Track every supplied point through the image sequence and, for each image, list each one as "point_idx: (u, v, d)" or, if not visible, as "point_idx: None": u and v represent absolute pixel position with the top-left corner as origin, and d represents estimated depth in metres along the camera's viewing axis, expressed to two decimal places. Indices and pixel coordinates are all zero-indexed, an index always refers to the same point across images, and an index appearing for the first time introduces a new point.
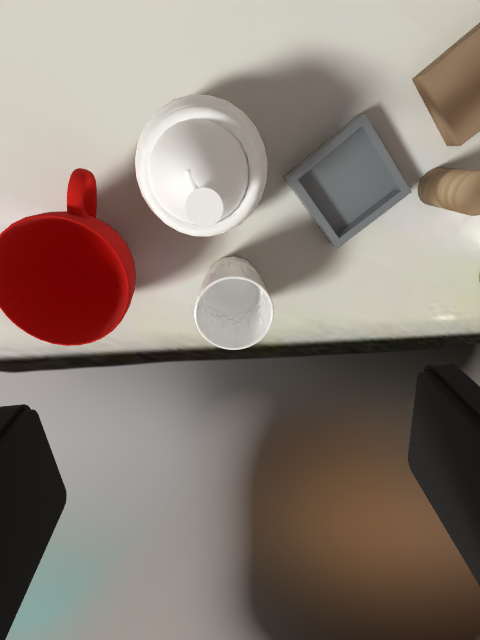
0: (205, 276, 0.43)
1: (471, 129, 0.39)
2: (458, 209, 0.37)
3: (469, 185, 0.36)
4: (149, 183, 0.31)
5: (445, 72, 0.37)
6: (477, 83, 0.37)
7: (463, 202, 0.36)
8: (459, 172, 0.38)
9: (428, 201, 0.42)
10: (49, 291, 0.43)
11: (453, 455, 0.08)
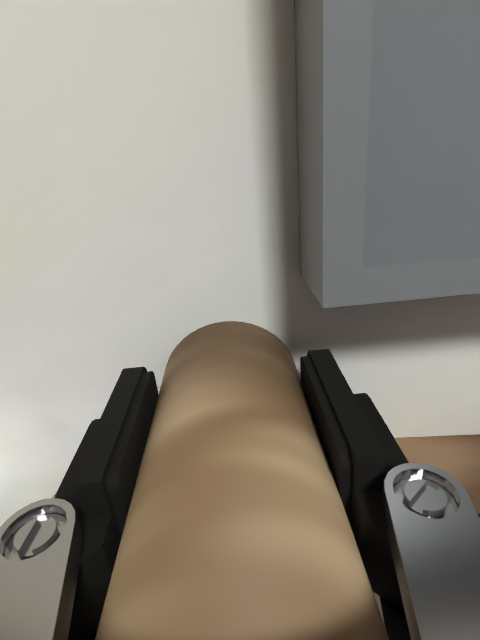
0: None
1: None
2: (198, 621, 0.04)
3: None
4: None
5: None
6: None
7: None
8: None
9: (217, 353, 0.09)
10: None
11: None
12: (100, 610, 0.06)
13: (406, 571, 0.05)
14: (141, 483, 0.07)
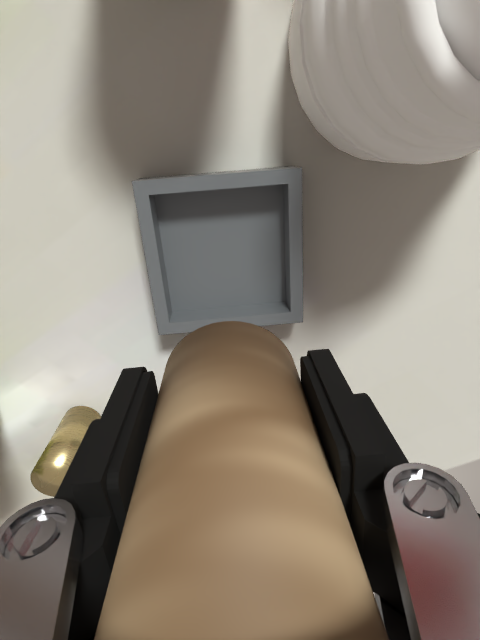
0: None
1: None
2: (197, 621, 0.04)
3: None
4: None
5: None
6: None
7: None
8: None
9: (217, 353, 0.09)
10: None
11: None
12: (100, 610, 0.06)
13: (406, 571, 0.05)
14: (140, 483, 0.07)
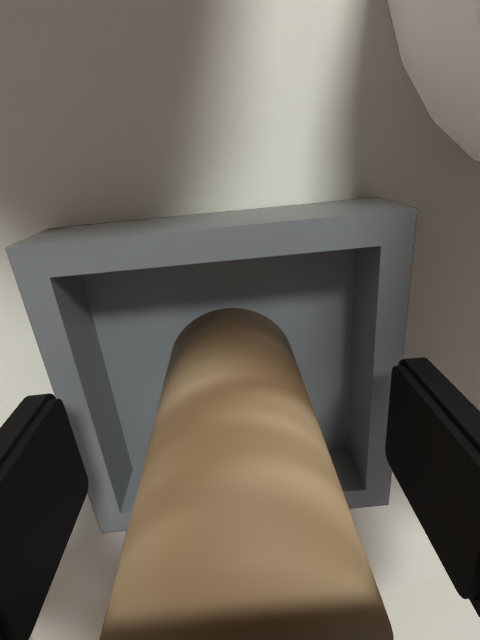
0: None
1: None
2: (207, 533, 0.05)
3: (339, 637, 0.05)
4: None
5: None
6: None
7: (254, 592, 0.05)
8: None
9: (220, 335, 0.10)
10: None
11: (422, 445, 0.08)
12: None
13: None
14: (154, 443, 0.08)
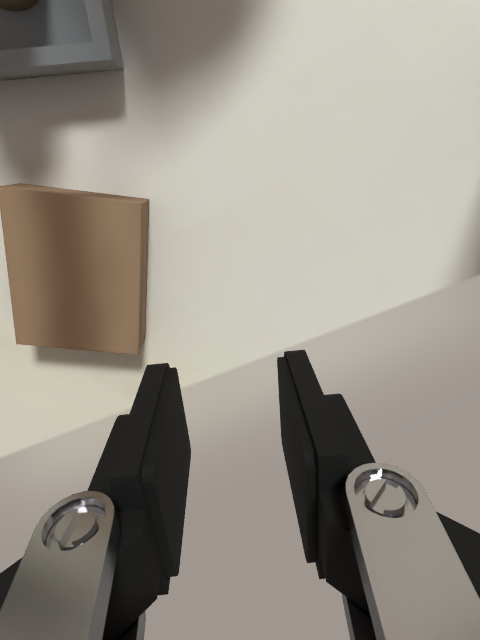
0: None
1: (13, 216, 0.22)
2: None
3: None
4: None
5: (120, 231, 0.23)
6: (74, 259, 0.23)
7: None
8: None
9: None
10: None
11: (288, 428, 0.09)
12: (136, 601, 0.06)
13: (370, 575, 0.05)
14: None
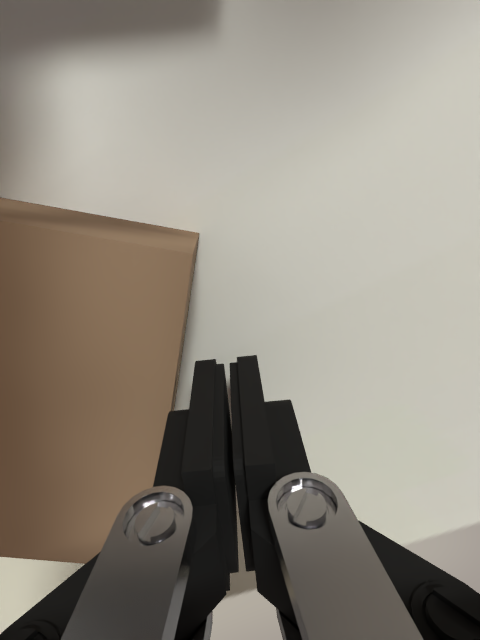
0: None
1: None
2: None
3: None
4: None
5: (129, 319, 0.09)
6: (3, 380, 0.09)
7: None
8: None
9: None
10: None
11: None
12: (209, 597, 0.06)
13: (297, 597, 0.05)
14: None
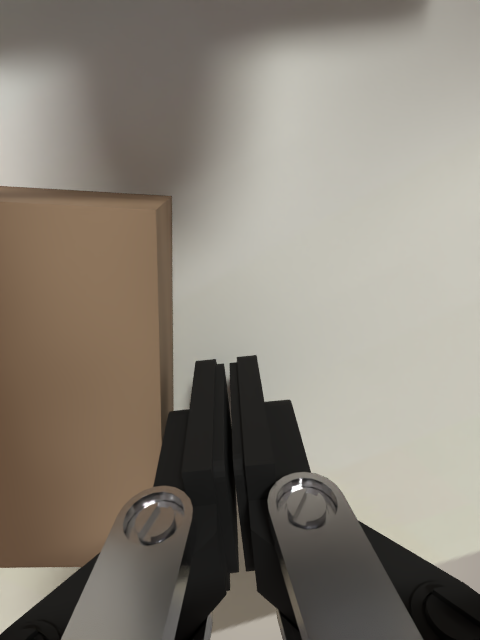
0: None
1: None
2: None
3: None
4: None
5: (98, 294, 0.08)
6: None
7: None
8: None
9: None
10: None
11: None
12: (209, 597, 0.06)
13: (297, 597, 0.05)
14: None
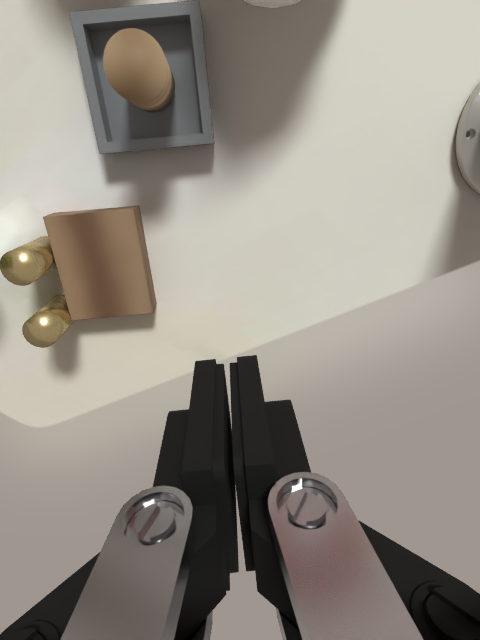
0: None
1: (55, 234, 0.34)
2: None
3: (155, 63, 0.25)
4: None
5: (123, 230, 0.35)
6: (97, 255, 0.35)
7: (139, 39, 0.24)
8: (168, 84, 0.27)
9: None
10: None
11: None
12: (209, 597, 0.06)
13: (297, 596, 0.05)
14: None
